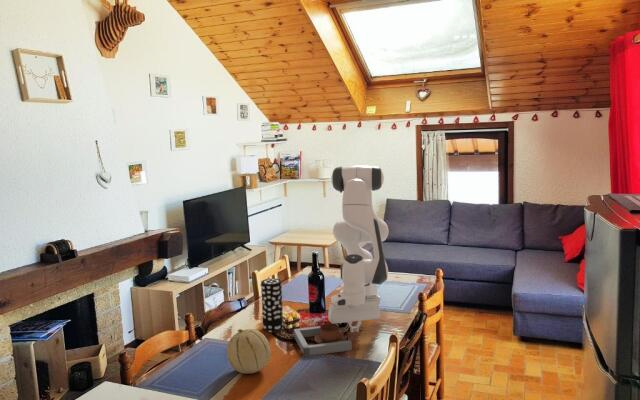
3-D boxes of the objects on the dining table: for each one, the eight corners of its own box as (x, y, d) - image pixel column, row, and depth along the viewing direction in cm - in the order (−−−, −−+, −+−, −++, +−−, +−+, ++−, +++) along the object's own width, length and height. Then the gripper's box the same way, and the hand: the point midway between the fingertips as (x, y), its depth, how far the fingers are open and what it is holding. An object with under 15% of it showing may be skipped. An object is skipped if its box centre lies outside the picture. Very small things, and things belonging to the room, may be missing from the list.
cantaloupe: (273, 378, 174) (272, 335, 172) (228, 384, 171) (226, 340, 169) (268, 359, 188) (266, 319, 186) (226, 364, 185) (224, 323, 183)
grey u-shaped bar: (293, 336, 209) (293, 329, 208) (337, 331, 213) (337, 324, 212) (304, 356, 190) (304, 348, 190) (351, 350, 195) (351, 342, 194)
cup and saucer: (348, 338, 206) (348, 322, 205) (341, 350, 195) (341, 334, 194) (319, 335, 210) (319, 320, 209) (310, 347, 198) (310, 331, 198)
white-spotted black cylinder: (280, 332, 213) (278, 284, 210) (260, 331, 214) (258, 284, 212) (285, 325, 221) (283, 278, 218) (266, 324, 222) (264, 278, 220)
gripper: (376, 292, 208) (377, 325, 210) (326, 297, 204) (327, 331, 206) (382, 297, 202) (382, 331, 204) (330, 302, 198) (331, 337, 200)
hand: (354, 331), depth 205 cm, fingers closed
